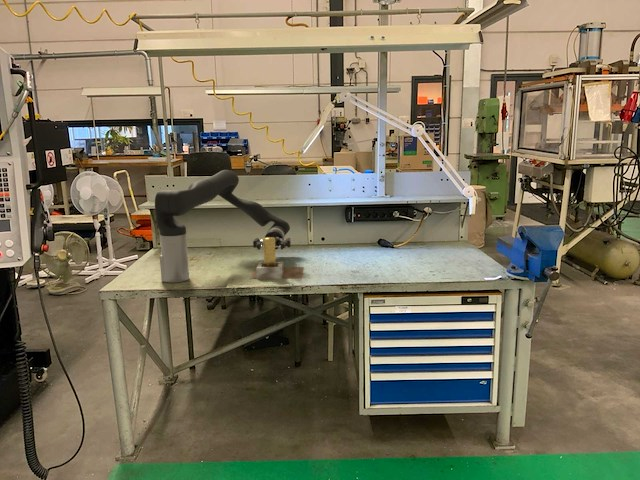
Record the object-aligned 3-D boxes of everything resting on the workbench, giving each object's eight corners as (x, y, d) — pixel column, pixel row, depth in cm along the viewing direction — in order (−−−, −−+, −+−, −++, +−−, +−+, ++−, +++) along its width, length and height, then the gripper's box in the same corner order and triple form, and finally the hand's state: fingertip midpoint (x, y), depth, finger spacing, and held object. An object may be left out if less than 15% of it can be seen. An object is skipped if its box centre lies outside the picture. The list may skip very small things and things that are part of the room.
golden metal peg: (263, 276, 176) (262, 239, 173) (265, 273, 180) (263, 237, 177) (275, 276, 176) (274, 239, 173) (276, 273, 180) (275, 237, 177)
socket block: (250, 281, 174) (249, 268, 173) (256, 269, 189) (255, 257, 188) (302, 281, 173) (302, 267, 172) (304, 269, 189) (303, 257, 188)
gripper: (256, 229, 193) (250, 237, 177) (292, 229, 193) (289, 236, 177) (257, 247, 194) (251, 256, 178) (292, 247, 194) (289, 256, 178)
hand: (270, 246), depth 178 cm, fingers open, 8 cm apart
